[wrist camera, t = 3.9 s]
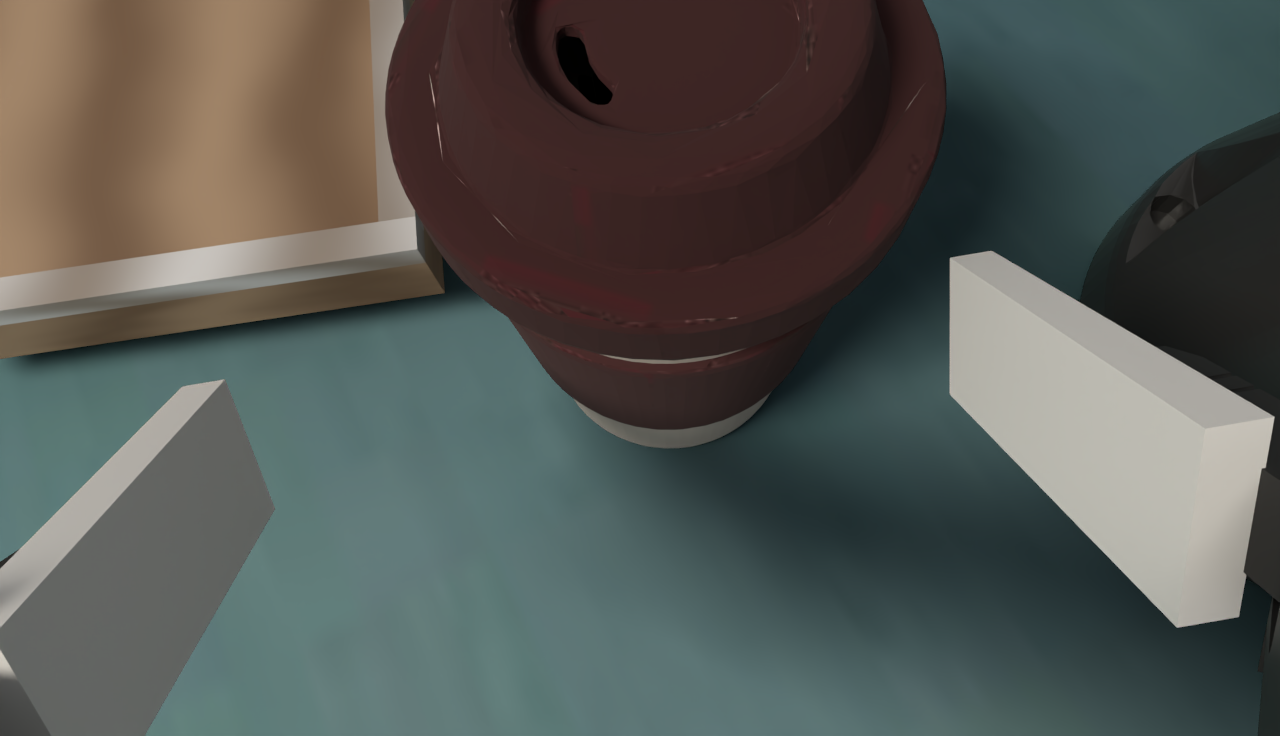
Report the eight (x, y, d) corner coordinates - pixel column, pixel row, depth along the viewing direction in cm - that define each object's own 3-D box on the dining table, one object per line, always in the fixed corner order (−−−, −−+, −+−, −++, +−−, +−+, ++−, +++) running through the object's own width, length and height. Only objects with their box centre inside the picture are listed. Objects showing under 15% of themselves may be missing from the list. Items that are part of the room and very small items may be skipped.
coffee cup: (833, 225, 29) (983, -205, 14) (812, 515, 25) (978, 325, 11) (547, 196, 29) (425, -236, 15) (491, 473, 26) (273, 248, 12)
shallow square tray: (437, -61, 34) (390, -202, 28) (468, 330, 28) (417, 249, 22) (13, 1, 34) (-116, -129, 28) (-43, 406, 28) (-219, 343, 22)
